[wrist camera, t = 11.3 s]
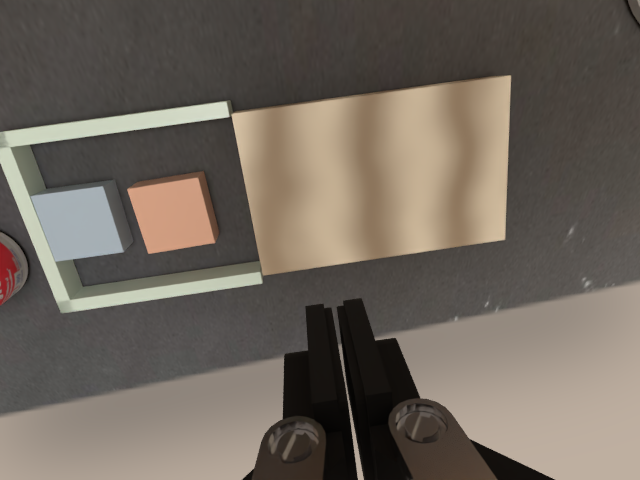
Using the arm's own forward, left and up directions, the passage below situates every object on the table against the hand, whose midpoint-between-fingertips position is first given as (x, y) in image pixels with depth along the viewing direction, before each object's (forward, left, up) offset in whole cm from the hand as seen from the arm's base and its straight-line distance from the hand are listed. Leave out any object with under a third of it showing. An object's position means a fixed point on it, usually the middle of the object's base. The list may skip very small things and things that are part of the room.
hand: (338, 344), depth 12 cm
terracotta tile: (+10, +1, -22) cm, 24 cm away
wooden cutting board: (-5, 0, -21) cm, 22 cm away
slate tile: (+17, 0, -19) cm, 25 cm away
